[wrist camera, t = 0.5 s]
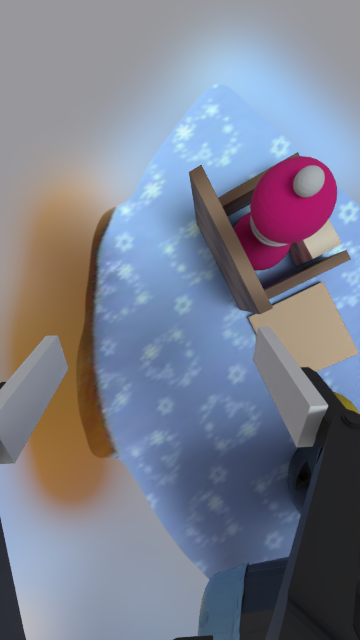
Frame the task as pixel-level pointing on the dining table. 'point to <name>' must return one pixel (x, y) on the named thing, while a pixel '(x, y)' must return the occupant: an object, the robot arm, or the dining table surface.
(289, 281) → the rack
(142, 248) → the dining table surface
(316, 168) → the pepper mill
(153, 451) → the dining table surface
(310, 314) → the cork mat
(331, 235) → the offcut top
